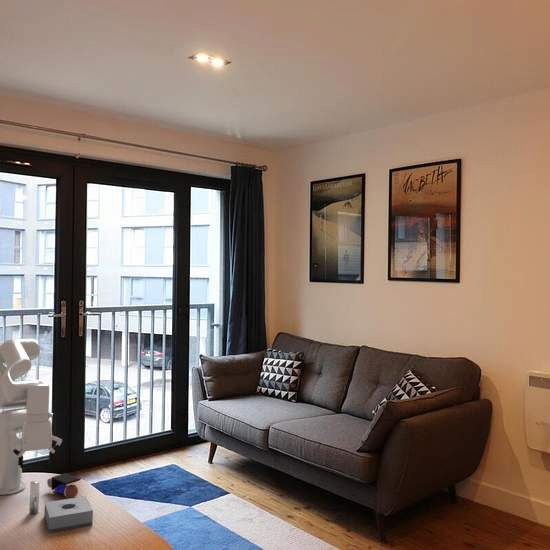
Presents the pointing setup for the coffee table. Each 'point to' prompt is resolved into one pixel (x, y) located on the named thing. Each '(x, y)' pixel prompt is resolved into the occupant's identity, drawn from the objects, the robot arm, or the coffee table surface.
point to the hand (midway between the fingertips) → (36, 465)
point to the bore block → (68, 514)
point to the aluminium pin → (34, 497)
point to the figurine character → (64, 484)
